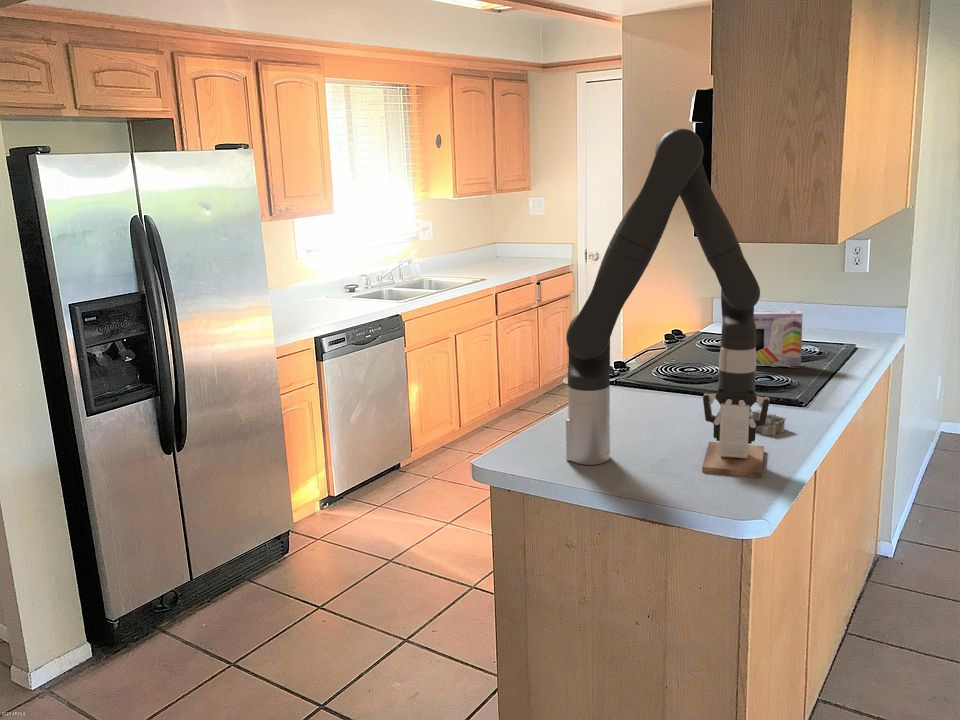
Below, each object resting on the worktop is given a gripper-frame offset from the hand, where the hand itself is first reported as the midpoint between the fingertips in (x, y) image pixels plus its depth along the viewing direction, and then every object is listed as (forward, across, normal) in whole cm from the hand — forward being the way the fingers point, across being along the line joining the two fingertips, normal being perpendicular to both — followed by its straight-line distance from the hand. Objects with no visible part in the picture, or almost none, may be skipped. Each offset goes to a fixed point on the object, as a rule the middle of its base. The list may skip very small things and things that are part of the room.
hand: (734, 441), depth 174 cm
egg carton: (+5, +5, +24) cm, 25 cm away
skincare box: (+3, 0, 0) cm, 3 cm away
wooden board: (+5, 0, 0) cm, 5 cm away
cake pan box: (+5, +5, +85) cm, 85 cm away
